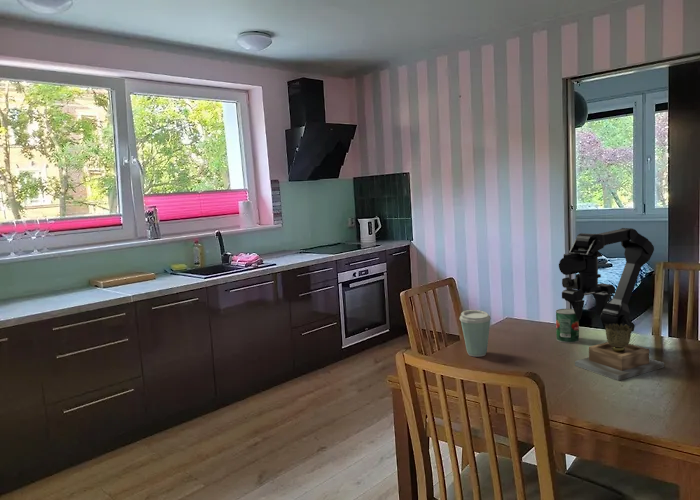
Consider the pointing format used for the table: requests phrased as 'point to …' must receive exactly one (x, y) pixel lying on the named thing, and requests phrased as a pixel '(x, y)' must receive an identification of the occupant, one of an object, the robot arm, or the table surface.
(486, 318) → the disposable coffee cup
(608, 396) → the table surface
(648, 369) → the wooden square tray
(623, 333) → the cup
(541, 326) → the table surface
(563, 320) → the canned tomato
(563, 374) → the table surface
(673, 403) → the table surface
